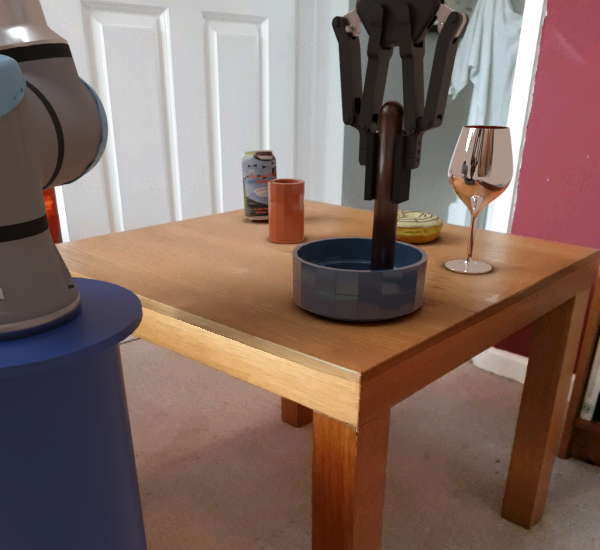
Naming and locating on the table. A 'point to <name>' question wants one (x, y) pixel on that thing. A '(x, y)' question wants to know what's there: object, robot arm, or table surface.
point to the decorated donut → (417, 227)
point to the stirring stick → (386, 187)
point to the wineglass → (479, 179)
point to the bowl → (356, 280)
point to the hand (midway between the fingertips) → (386, 199)
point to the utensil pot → (286, 210)
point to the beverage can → (257, 182)
